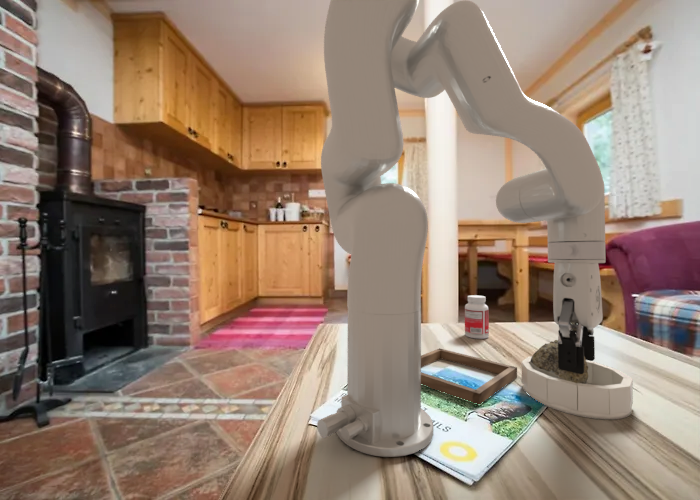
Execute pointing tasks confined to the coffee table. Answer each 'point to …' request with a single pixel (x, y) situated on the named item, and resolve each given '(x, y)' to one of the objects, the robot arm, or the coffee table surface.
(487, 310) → the pill bottle
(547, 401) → the bowl
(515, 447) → the coffee table surface
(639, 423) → the coffee table surface
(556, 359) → the rock
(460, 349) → the coffee table surface
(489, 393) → the rectangular wooden frame
